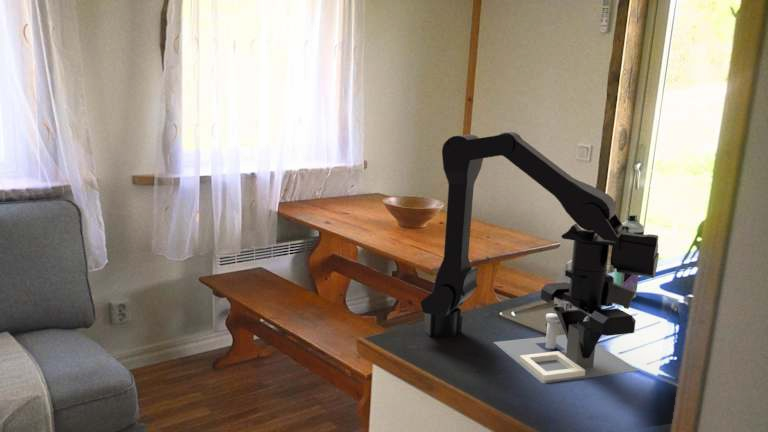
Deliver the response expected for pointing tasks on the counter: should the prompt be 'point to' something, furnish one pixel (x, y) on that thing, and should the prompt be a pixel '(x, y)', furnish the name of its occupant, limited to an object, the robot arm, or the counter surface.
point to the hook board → (602, 358)
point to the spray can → (622, 278)
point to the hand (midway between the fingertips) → (580, 353)
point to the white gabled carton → (563, 276)
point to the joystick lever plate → (561, 359)
